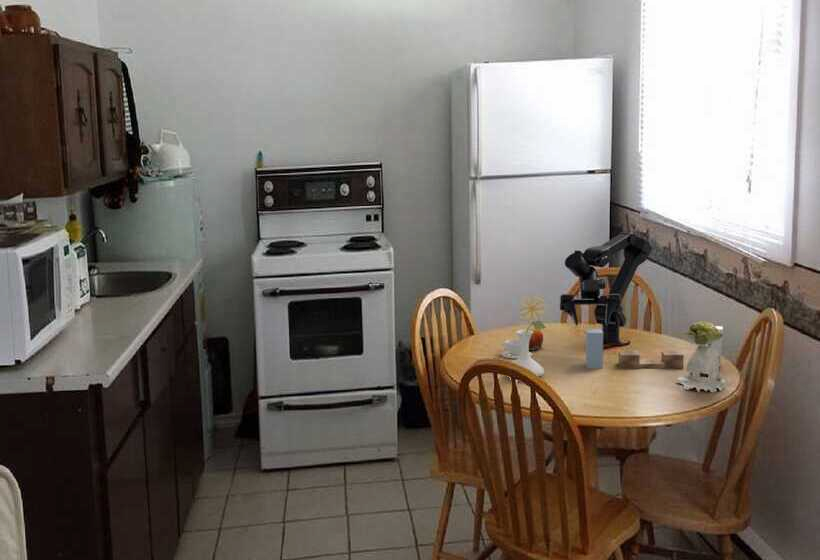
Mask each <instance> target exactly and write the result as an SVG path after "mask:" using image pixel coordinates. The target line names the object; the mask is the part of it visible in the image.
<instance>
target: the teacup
mask: <svg viewBox="0 0 820 560" xmlns="http://www.w3.org/2000/svg"><path fill="white" fill-rule="evenodd" d="M504 346H505V347H504ZM501 348H502V349H503V352H502V353H501V356H502V357H504V358H506V359H507V358H508V359H515V360H516V359H518V358H519V357H516V356H520V354H521V342H520V339H519V338H511V339H510V338H509V339H507V340H505V342H503V343H501ZM507 353H509V354H510V355H511V356H508V354H507ZM529 355H530V357H532V356H533V353H532V352H530V351H529ZM512 356H515V357H512Z"/></svg>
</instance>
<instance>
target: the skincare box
mask: <svg viewBox="0 0 820 560" xmlns="http://www.w3.org/2000/svg"><path fill="white" fill-rule="evenodd" d="M714 326H715V327H716V328H717V329H718V330H719V331H721V332H722V334H723V336H724V326H722V325H721V326H720V325H714ZM723 336H722V337H721V338H720V339H719V340H717V341H715V342H712V344H713V346H714V348H715V350H716V351H717V354H718V357H719V367H722V366H721V365H722V355H723V353H722V351H723Z"/></svg>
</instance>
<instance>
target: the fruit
mask: <svg viewBox="0 0 820 560" xmlns="http://www.w3.org/2000/svg"><path fill="white" fill-rule="evenodd" d="M529 330H531V331H533V334H532V335H531V337H530V340H529V351H535V350H536V349H541V350H543V348H542V347H543V343H544V333H543V332H542V331H541V329H539V330H537V329H535V328H534V327H533V328H529ZM518 339H520V338H519V337H518Z"/></svg>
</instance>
